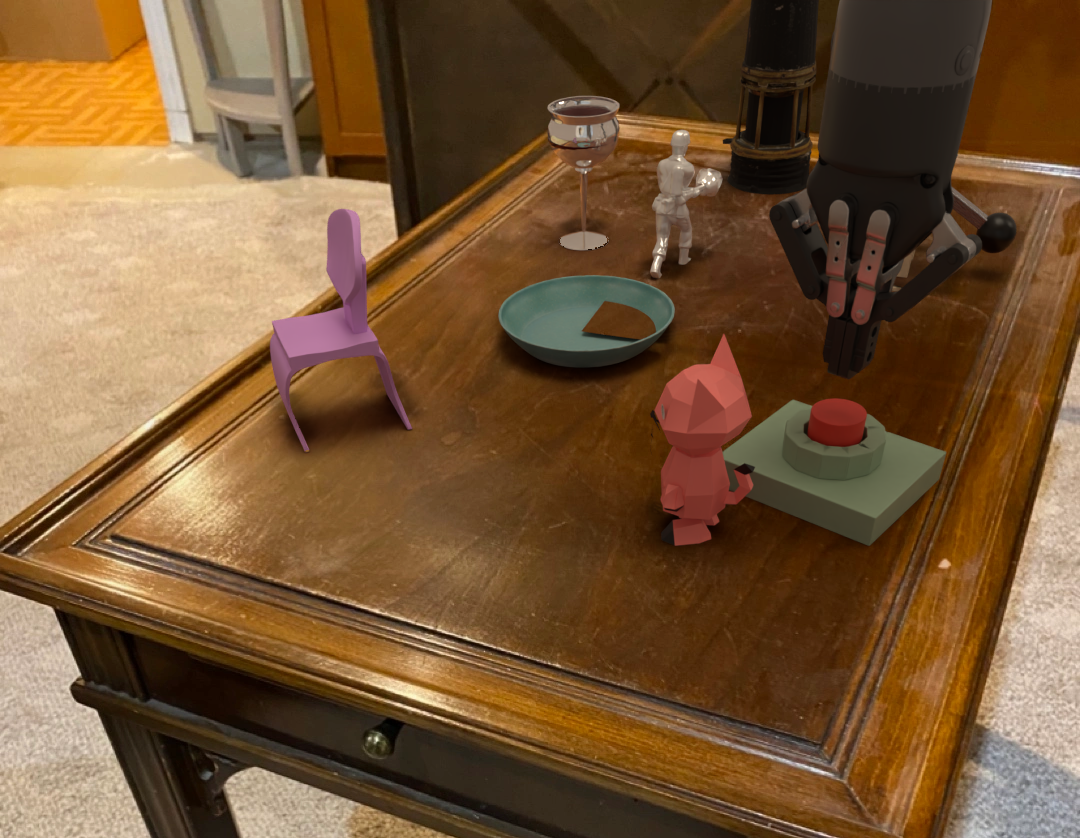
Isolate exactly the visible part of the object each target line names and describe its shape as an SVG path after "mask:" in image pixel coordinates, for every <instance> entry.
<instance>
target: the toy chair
mask: <svg viewBox="0 0 1080 838" xmlns="http://www.w3.org/2000/svg"><path fill="white" fill-rule="evenodd" d="M326 224H327V226H326V236H327V237H326V238H327V239H326V241H327V247H326V248H327V249H326V250H327V251H326V253H327V254H326V266H325V267H326V268H325V270H326V273H327V275H328V278H329V279H330V282H331V283H332V286H333V287H334V289H335V291H336V292H337V294H338V295H339V297H340V298H341V300H342V305H343V307H339V308H336V309H332V310H328V311H324V312H320V313H319V312H318V313H314V314H309V315H303V316H301V315H300V316H292V317H286V318H280V319H275V320H271V325H272V329H273V334H272V335H271V337H270V340H269V341H270V342H269V351H270V361H271V367H272V372H273V376H274V380H275V385H276V387H277V390H278V393H279V396H280V398H281V401H282V403H283V405H284V408H285V410H286V413H287V415H288V416H289V419H290V422H291V424H292V426H293V429H294V430H295V433H296V435H297V438H298V439H299V443H300V445H301V446H302V448H303V452H305V451H306V450H310V448H309V446H308V444H307V441H306V439H305V436H304V434H303V432H302V430H301V427H300V425H299V423H298V420H297V418H296V416H295V414H294V411H293V409H292V406H291V400H290V387H291V381H292V377H293V376H294V375H295V374H296V373H297V372H299V371H301V370H302V369H303V370H304V369H307V368H310V367H315V366H318V365H320V364H323V363H328V362H331V361H336V360H342V359H350V358H360V357H367V356H369V357H370V356H373V357H374V360H375V363H376V366H377V369H378V371H379V374H380V377H381V380H382V384H383V386H384V390H385V393H386V395H387V397H388V398H389V400H390V403H391V404H392V406H393V407H394V409H395V410H396V413H397V414H398V416H399V418H400V419H401V421H402V423H403V424H404V426H405V428H406V429H407V430H408V431H410V430H413V426H412V424H411V422H410V420H409V417H408V415H407V414H406V413H407V412H406V411H405V408H404V405H403V404H402V401H401V399H400V396H399V393H398V391H397V388H396V385H395V381H394V379H393V378H394V377H393V374H392V371H391V367H390V363H389V360H388V358H387V357H386V354H385V353H384V352H383V350H382V348H381V346H380V344H379V339H378V338H377V336H376V335H375V333H374V331H373V330H372V328H371V327H370V326H369V324H368V296H367V295H368V294H367V291H368V290H367V288H368V287H367V260H366V257H365V256H364V255H363V253H362V231H361V219H360V216H359V214H358V213H357V211H356V210H352V209H349V208H338V209H335V210H334V211H332V212H331V213H330V215H329V216H328V219H327V223H326ZM295 418H296V419H295ZM299 427H300V428H299Z"/></svg>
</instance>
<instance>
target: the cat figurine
mask: <svg viewBox="0 0 1080 838" xmlns="http://www.w3.org/2000/svg"><path fill="white" fill-rule="evenodd" d="M649 415H650V418H652V419H653V421H654V423H655V425H656V426H657V428H658V430H659V431H660V434H661V433H662V432H661V429H662V431H663V434H664V435H665V438H666V440H667V443H668V444H669V445H671V446H672V447H671V448H670V451H669V453H668V455H667V457H666V459H665V461H664V464H663V465H662V467H661V469H660V485H661V486H660V487H661V488H660V490H661V496H660V502H661V506H662V511H663V512H665V513H667V514H671V515H674V516H677V517H678V518H677V519H672V520H671V521H670V522H669V524H667V526H666V527H665V528H664V529H663V530H662V531H661V532H660V537H661V539H660V540H661V541H663V542H664V543H668V544H670V545H672V546H686V545H695V544H697V545H698V544H701V543H704V542H707V541H710V540H712V533H711V531H710V530H709V528H708V526H716V525H717V524H719V523H720V519H719V517H718V514H719V513H721V511H723V510H725V509H726V505H738V504H739V503H740V502H741V501H742V500H743V499H744V498H746V495H747V494H748V493H749V492H750V491H751V489H752V487H753V483H752V480H751V478H750V475H749V473H752V472H753V471H754V469H755V467H754V466H751V465H748V464H746V463H744V464H742V465H740V466H739V467H737V468H735V469H734V472H735V475H736V478H737V480H738V483H739V487H738V488H737V489H736V491H735V492H733V491H731V490H729V486H730V481H729V477H728V474H727V470H726V466H725V461H724V457H723V448H722V447H723V446H724V445H725V444H727V443H728V442H730V441H731V440H733V439H734V438H736V437H738V436H739V435H740V434H741V433H742V432H743V431H744V429H745V427H746V426H747V424H748V423H749V421H750V420H751V419H752V417H753V415H752V412H751V407H750V403H749V400H748V395H747V392H746V389H745V386H744V382H743V379H742V376H741V373H740V371H739V369H738V366H737V363H736V360H735V358H734V355H733V352H732V350H731V347H730V345H729V342H728V340H727V337H726V334H725V333H723V334H722V337H721V339H720V341H719V344H718V345H717V348H716V350H715V352H714V355H713V357H712V359H711V361H710V363H701V364H700V363H699V364H697V363H696V364H693V365H691V366H688V367H687V368H685V369H683V370H681V371H680V372H679V373H677V374H676V375H675V376H674V377H672V379H670V380H669V381H668V382H666V384H665V386H664V388H663V390H662V393H661V395H660V397H659V400H658V401H657V404H656V406H655V407H654V409H652V410H651V412H650V413H649ZM659 424H660V426H659ZM660 427H661V429H660ZM651 429H654V426H652V428H651ZM653 433H654V431H653V430H651V431H650V436H651V438H654V436H653ZM652 440H653V439H651V440H650V443H652V442H653V441H652ZM649 447H650V449H649V450H650V454H651V455H653V454H652V451H651V448H652V446H649Z"/></svg>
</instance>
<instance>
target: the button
mask: <svg viewBox="0 0 1080 838" xmlns="http://www.w3.org/2000/svg"><path fill="white" fill-rule="evenodd" d="M811 406H812V408H811V413H810V419H809V425H808V431H807V435H808V437H809V438H810V439H811V440H812V441H815V442H818V443H821V444H823V445H826V446H836V447H848V446H852V445H856V444H859V443H860V442H861V440H862V436H863V432H864V427H865V422H866V417H867V414H868V412H867V410H866V409H865V407H864V406H863V405H861V404H860V403H858V402H856V401H853V400H849V399H844V398H826V399H821V400H819V401H817V402H815V403H814V404H813V405H811Z"/></svg>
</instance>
